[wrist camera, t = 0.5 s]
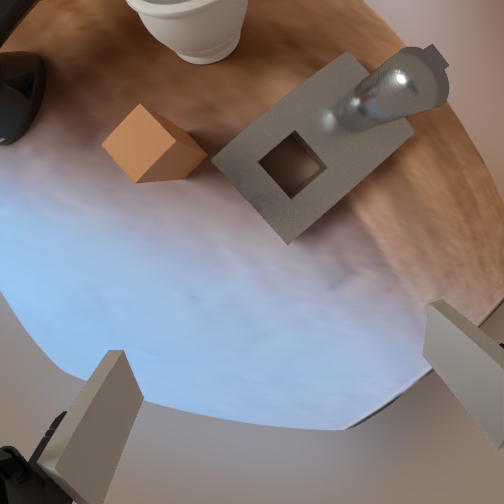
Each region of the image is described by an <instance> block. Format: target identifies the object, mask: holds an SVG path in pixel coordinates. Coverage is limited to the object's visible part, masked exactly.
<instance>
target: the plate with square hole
mask: <svg viewBox="0 0 504 504" xmlns="http://www.w3.org/2000/svg"><path fill="white" fill-rule="evenodd" d="M448 66H449V64H448V63H447V62H446V60H445V59H444V58H443V57H442V55H441V54H440V53H439V51H438V50H437V49H436V48H435V46H434V45H433V44H432V45H430V46H428V47H427V48H425V49H424V50H423V49H421V48H418V47H406V48H404V49H402V50H400V51H399V52H398V53H396V54H395V55H394V56H392V57H391V58H390V59H389V60H387V61H386V62H385V63H383V64H382V65H381V66H380V67H378V68H377V69H376V70H375V71H373V72H372V73H371V74H369V72H368V71H367V70H366V69H365V68H364V67H363V66H362V65H361V64H360V62H359V61H358V60H357V59H356V58H355V57H354V56H353V55H352V54H351V53H350V52H349V51H348V50H347V51H346V52H345V53H343V54H342V55H340V56H339V57H337V58H336V59H334V60H333V61H332V62H330V63H329V64H327V65H326V66H325V67H323V68H322V69H320V70H319V71H318V72H316V73H315V74H314V75H312V76H311V77H310V78H308V79H307V80H305V81H304V82H303V83H302V84H300V85H299V86H298V87H296V88H295V89H294V90H292V91H291V92H290V93H289V94H287V95H286V96H285V97H283V98H282V99H281V100H280V101H278V102H277V103H276V104H275V105H273V106H272V107H271V108H270V109H268V110H267V111H266V112H265V113H264V114H262V115H261V116H260V117H259V118H258V119H256V120H255V121H254V122H253V123H252V124H250V125H249V126H248V127H247V128H246V129H245V130H243V131H242V132H241V133H240V134H239V135H238V136H237V137H235V138H234V139H233V140H232V141H231V142H230V143H229V144H227V145H226V146H225V147H224V148H223V149H222V150H221V151H220V152H219V153H217V154H216V155H215V156H214V157H213V158H212V159H211V160H210V161H211V162H212V163H213V164H214V165H215V166H216V167H217V168H218V169H219V170H220V171H221V172H222V173H223V174H224V176H225V177H226V178H227V179H228V180H229V181H230V182H231V183H232V184H233V185H234V186H235V187H236V189H237V190H238V191H239V192H240V193H241V194H242V195H243V196H244V197H245V198H246V199H247V201H248V202H249V203H250V204H251V205H252V206H253V207H254V208H255V209H256V210H257V212H258V213H259V214H260V215H261V216H262V217H263V218H264V219H265V220H266V222H267V223H268V224H269V225H270V226H271V227H272V228H273V229H274V230H275V232H276V233H277V234H278V235H279V236H280V237H281V238H282V239H283V241H284V242H285V243H286V244H287V245H288V244H290V243H291V242H292V241H293V240H294V239H295V238H297V237H298V236H299V235H300V234H301V233H302V232H304V231H305V230H306V229H307V228H308V227H309V226H310V225H312V224H313V223H314V222H315V221H316V220H317V219H318V218H320V217H321V216H322V215H323V214H324V213H325V212H326V211H328V210H329V209H330V208H331V207H332V206H333V205H334V204H336V203H337V202H338V201H339V200H340V199H341V198H342V197H344V196H345V195H346V194H347V193H348V192H349V191H350V190H351V189H353V188H354V187H355V186H356V185H357V184H358V183H359V182H360V181H362V180H363V179H364V178H365V177H366V176H367V175H368V174H369V173H371V172H372V171H373V170H374V169H375V168H376V167H377V166H378V165H380V164H381V163H382V162H383V161H384V160H385V159H386V158H387V157H388V156H390V155H391V154H392V153H393V152H394V151H395V150H396V149H397V148H398V147H400V146H401V145H402V144H403V143H404V142H405V141H406V140H407V139H408V138H409V137H411V136H412V135H413V134H414V133H415V131H414V129H413V128H412V127H411V125H410V124H409V122H408V121H407V120H406V118H405V117H407V116H411V115H414V114H417V113H420V112H423V111H426V110H430V109H433V108H436V107H439V106H441V105H442V104H443V103H444V102H445V101H446V99H447V97H448V94H449V82H448V78H447V75H446V73H445V70H444V69H445V68H447V67H448ZM289 135H292V136H293V137H294V138H295V139H296V141H297V142H298V143H299V144H300V145H301V146H302V147H303V148H304V150H305V151H306V152H307V153H308V154H309V155H310V157H311V158H312V159H313V160H314V161H315V162H316V164H317V165H318V166H319V167H320V168H321V169H319V170H318V171H317V172H316V173H315V174H314V175H312V176H311V177H310V178H309V179H308V180H307V181H305V182H304V183H303V184H302V185H301V186H300V187H299V188H297V189H296V190H295V191H294V192H293V193H292V194H291V195H289V196H287V195H286V193H285V192H284V191H283V190H282V189H281V188H280V187H279V186H278V184H277V183H276V182H275V181H274V180H273V179H272V178H271V177H270V175H269V174H268V173H267V172H266V171H265V170H264V169H263V168H262V167H261V165H260V164H259V163H258V162H259V161H260V160H261V159H262V158H264V157H265V156H266V155H267V154H268V153H269V152H271V151H272V150H273V149H274V148H275V147H276V146H278V145H279V144H280V143H281V142H282V141H283V140H285V139H286V138H287V137H288V136H289Z"/></svg>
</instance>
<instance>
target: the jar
mask: <svg viewBox="0 0 504 504" xmlns="http://www.w3.org/2000/svg"><path fill="white" fill-rule="evenodd" d="M126 1H127V3H128V4H129V6H130V7H131V8H133V9H134V10H135V11H137V12H138V14H139V16H140V18H141V20H142V22H143V24H144V25H145V27H146V28H147V29H148V31H149V32H150V33H151V34H152V35H153V36H154V37H155V38H156V39H157V40H159V41H160V42H161V43H163V44H164V45H166V46H167V47H169V48H170V49H171V50H173V51H175V52H176V53H177V55H178V56H179V57H180V58H182V59H183V60H185V61H187V62H189V63H193V64H210V63H214V62H217V61H219V60H222V59H223V58H225V57H227V56H228V55H229V54H230V53H231V52H232V51H233V50H234V49H235V48H236V46H237V44H238V42H239V40H240V30H241V28H242V25H243V21H244V17H245V15H246V11H247V6H248V0H126Z"/></svg>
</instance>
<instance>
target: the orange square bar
mask: <svg viewBox="0 0 504 504" xmlns="http://www.w3.org/2000/svg"><path fill="white" fill-rule="evenodd" d="M102 146H103V147H104V149H105V150H106V151H107V152H108V153H109V154H110V155H111V157H112V158H113V159H114V160H115V161H116V162H117V164H118V165H119V166H120V167H121V168H122V169H123V170H124V171H125V173H126V174H127V175H128V176H129V177H130V178H131V179H132V180H133V182H134V183H144V182H156V181H168V180H182V179H184V178H185V177H186V176H187V175H188V174H190V173H191V172H192V171H193V170H194V169H195V168H196V167H197V166H198V165H199V164H200V163H201V162H202V161H203V160H204V159H205V158H206V157H208V156H209V155H208V154H207V153H206V152H205V151H204V150H203V149H202V148H201V147H200V146H199V145H198V144H197V143H196V142H195V141H194V140H193V139H192V138H191V136H190V135H189V134H188V133H187V132H186V131H184V130H183V129H181V128H179V127H178V126H176V125H175V124H173V123H171V122H170V121H168V120H167V119H165V118H163V117H162V116H160V115H159V114H157V113H155V112H154V111H152V110H150V109H149V108H147V107H145V106H144V105H142V104H141V103H140V104H139V105H138V106H137V107H136V108H135V109H134V110H133V111H132V112H131V113H130V114H129V115H128V116H127V117H126V118H125V119H124V120H123V121H122V122H121V123H120V124H119V126H118V127H117V128H116V129H115V130H114V131H113V132H112V133H111V134H110V136H109V137H108V138H107V139H106V140H105V141H104V142H103V144H102Z"/></svg>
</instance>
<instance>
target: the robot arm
mask: <svg viewBox="0 0 504 504" xmlns="http://www.w3.org/2000/svg"><path fill="white" fill-rule="evenodd" d="M39 1H42V0H0V48H1V47H2V45H3V44H4V43H5V41H6V40H7V39H8V37H9V36H10V35H11V34H12V32H13V31H14V30H15V29H16V27H17V26H18V25H19V24H20V23H21V21H22V20H23V19H24V18H25V17H26V16H27V14H28V13H29V12H30V11H31V10H32V9H33V8H34V7H35V6H36V5H37V4H38V2H39ZM45 80H46V75H45V68H44V65H43V63H42V61H41V59H40V58H39V57H37V56H36V55H33V54H31V53H29V52H25V51H15V52H3V53H0V145H1V146H4V145H9V144H11V143H13V142H15V141H16V140H17V139H19V138H20V137H21V136H22V135H23V134H24V132H25V131H26V130H27V129H28V127H29V126H30V124H31V123H32V121H33V119H34V118H35V116H36V114H37V111H38V109H39V107H40V104H41V101H42V98H43V94H44V89H45ZM422 355H423V357H424V358H425V359H426V360H427V361H428V363H429V364H430V365H431V366H432V367H433V369H434V370H435V371H436V372H437V373H438V375H439V376H440V377H441V378H442V380H443V381H444V382H445V383H446V385H447V386H448V387H449V388H450V390H451V391H452V392H453V394H454V395H455V396H456V397H457V399H458V400H459V401H460V402H461V404H462V405H463V406H464V408H465V409H466V410H467V412H468V413H469V414H470V416H471V417H472V418H473V420H474V421H475V422H476V424H477V425H478V426H479V428H480V429H481V430H482V432H483V433H484V435H485V436H486V437H487V439H488V440H489V441H490V443H491V444H492V446H493V447H494V449H495V450H496V451H498V450H499V449H501V448H502V447H504V344H502V343H501V344H499V345H498V344H497V343H496V342H495V341H494V340H492V339H491V338H490V337H489V336H488V335H486V334H485V333H484V332H483V331H482V330H480V329H479V328H478V327H477V326H476V325H474V324H473V323H472V322H471V321H469V320H468V319H467V318H466V317H464V316H463V315H462V314H461V313H459V312H458V311H457V310H455V309H454V308H453V307H452V306H450V305H449V304H448V303H446V302H445V301H444V300H439V301H436V302H432V303H429V309H428V318H427V327H426V334H425V341H424V348H423V354H422ZM143 399H144V397H143V395H142V392H141V390H140V388H139V386H138V384H137V381H136V379H135V377H134V374H133V372H132V370H131V367H130V365H129V363H128V360H127V358H126V355H125V353H124V350H109V351H108V352H107V354H106V355H105V356H104V358H103V359H102V361H101V362H100V364H99V365H98V367H97V368H96V369H95V371H94V372H93V374H92V375H91V377H90V378H89V380H88V381H87V383H86V384H85V386H84V387H83V389H82V391H81V392H80V393H79V395H78V396H77V398H76V399H75V401H74V402H73V404H72V406H71V407H70V409H69V410H68V412H67V411H64V412H63V413H62V414H60V415H59V416H58V417H57V418H55V420H54V421H53V423H52V424H51V426H50V428H49V430H48V431H47V432H46V434H45V437H43V438H42V440H41V442H40V443H39V445H38V446H37V448H36V450H35V451H34V453H33V455H32V456H31V458H30V460H29V461H28V462H27V461H26V460H25V459H24V457H23V456H22V455H21V454H20V453H19V451H18V450H17V449H15V448H14V447H12V446H3V447H1V448H0V504H72V502H73V500H74V501H75V502H76V503H77V504H103V503H104V500H105V497H106V494H107V492H108V489H109V486H110V483H111V481H112V478H113V475H114V472H115V470H116V467H117V464H118V462H119V459H120V457H121V453H122V451H123V449H124V446H125V444H126V441H127V439H128V436H129V433H130V431H131V428H132V426H133V423H134V421H135V418H136V416H137V413H138V411H139V409H140V406H141V404H142V401H143Z"/></svg>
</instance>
